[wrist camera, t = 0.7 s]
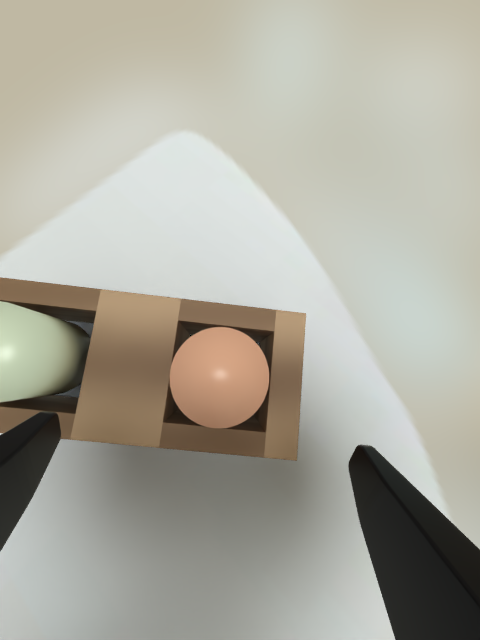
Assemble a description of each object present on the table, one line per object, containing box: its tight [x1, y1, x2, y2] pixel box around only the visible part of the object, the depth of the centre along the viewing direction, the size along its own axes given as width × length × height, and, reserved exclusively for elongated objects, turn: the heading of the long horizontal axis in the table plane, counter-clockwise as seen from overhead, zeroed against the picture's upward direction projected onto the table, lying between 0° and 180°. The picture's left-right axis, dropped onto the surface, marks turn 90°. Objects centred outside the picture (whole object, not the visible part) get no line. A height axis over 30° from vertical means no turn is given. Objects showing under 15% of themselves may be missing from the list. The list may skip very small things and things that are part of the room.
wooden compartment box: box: [0, 278, 306, 461], centre depth 18 cm, size 8×19×6 cm, turn 84°
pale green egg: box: [0, 301, 91, 402], centre depth 14 cm, size 4×4×5 cm
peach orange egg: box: [170, 327, 269, 428], centre depth 15 cm, size 4×4×5 cm
